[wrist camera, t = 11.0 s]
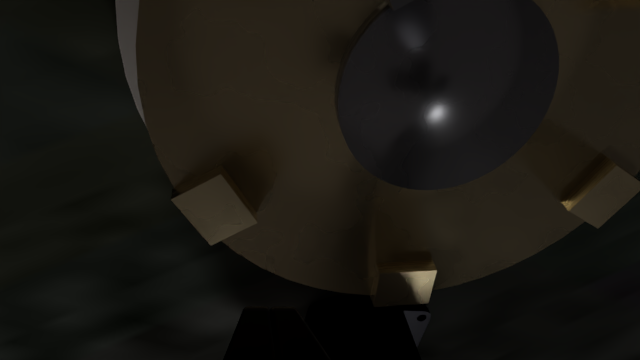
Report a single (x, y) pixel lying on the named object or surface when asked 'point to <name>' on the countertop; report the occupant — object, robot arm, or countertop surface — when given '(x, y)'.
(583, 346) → the countertop surface
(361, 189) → the shallow round tray
